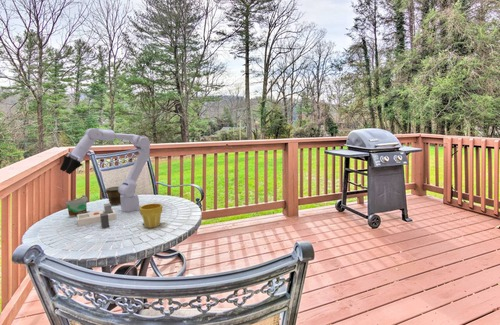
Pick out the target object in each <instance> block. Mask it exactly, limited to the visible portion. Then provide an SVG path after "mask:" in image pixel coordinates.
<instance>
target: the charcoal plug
mask: <svg viewBox="0 0 500 325" xmlns="http://www.w3.org/2000/svg"><path fill="white" fill-rule="evenodd" d="M103 209H104V211H105V213H107V214H110V213H112V209H113V208H112V205H111V204H110V202H109V203H104V204H103Z"/></svg>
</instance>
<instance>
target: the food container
mask: <svg viewBox="0 0 500 325" xmlns="http://www.w3.org/2000/svg"><path fill="white" fill-rule="evenodd" d="M88 201H89V199H88V197H87V195H85V194H84V195H83V194H82V196H81V197H77V198H73V199H72V200H66V201H65V205H66V208H67V210H68V216H69V217H71V218H72V217H77V215H78V214H84V213H88V211H87V202H88Z"/></svg>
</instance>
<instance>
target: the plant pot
mask: <svg viewBox="0 0 500 325" xmlns="http://www.w3.org/2000/svg"><path fill="white" fill-rule="evenodd" d="M139 209H140V210H139V213H140V216H142V220H143V222H144V226H145V227H146V228H157V227H158V226H160V222H161V218H162V216H161V215H162V213H163V204H162V203H156V202H155V203H148V204H147V203H146V204H144V205H141V206H139Z"/></svg>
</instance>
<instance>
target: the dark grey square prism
mask: <svg viewBox="0 0 500 325" xmlns="http://www.w3.org/2000/svg"><path fill="white" fill-rule="evenodd" d="M100 218H101V222H100V225H101V226H100V227H101V229H107V228H110V223H109V220H108V214H107V213H102V214H100Z"/></svg>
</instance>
